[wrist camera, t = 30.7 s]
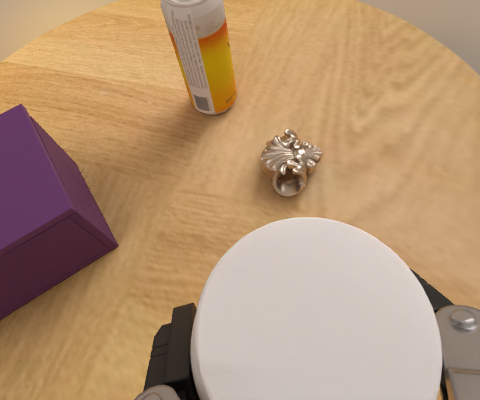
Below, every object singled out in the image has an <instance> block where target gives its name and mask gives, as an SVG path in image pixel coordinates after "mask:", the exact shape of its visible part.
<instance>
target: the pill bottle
mask: <svg viewBox="0 0 480 400" xmlns="http://www.w3.org/2000/svg"><path fill="white" fill-rule="evenodd" d="M190 354H191V366H192V373H193V378H194V383H195V386H196V390H197V393H198V396H199V398H200V400H436V399H437V396H438V391H439V386H440V381H441V372H442V346H441V338H440V332H439V328H438V324H437V320H436V317H435V314H434V311H433V307H432V305H431V303H430V301H429V299H428V297H427V295H426V293H425V291H424V289H423V287H422V286H421V284H420V282H419V281H418V279H417V278H416V277H415V275H414V274H413V273H412V271H411V270H410V269H409V267H408V266H407V265H406V264H405V263H404V262H403V260H402V259H401V258H400V257H399V256H398V255H397V254H396V253H395V252H393V251H392V250H391V249H390V248H389V247H388V246H386V245H385V244H383V243H382V242H381V241H380V240H378V239H377V238H375V237H373V236H372V235H370V234H368V233H367V232H365V231H363V230H360V229H358V228H356V227H353V226H351V225H348V224H345V223H343V222H339V221H335V220H331V219H325V218H315V217H299V218H289V219H285V220H279V221H276V222H272V223H270V224H267V225H264V226H262V227H260V228H258V229H256V230H254V231H252V232H251V233H249V234H247V235H246V236H244V237H242V238H241V239H240V240H239V241H238V242H236V243H235V244H234V245H233V246H232V247H231V248H230V249H229V250H228V251H227V252H226V253H225V254H224V255H223V256H222V257H221V259H220V260H219V262H218V263H217V264H216V266H215V267H214V269H213V270H212V272H211V274H210V275H209V277H208V279H207V281H206V283H205V286H204V288H203V291H202V294H201V296H200V300H199V304H198V308H197V311H196V315H195V318H194V323H193V328H192V335H191V351H190Z"/></svg>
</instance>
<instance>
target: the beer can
mask: <svg viewBox="0 0 480 400" xmlns="http://www.w3.org/2000/svg"><path fill="white" fill-rule="evenodd" d="M161 9H162V12H163V15H164V18H165V21H166V24H167V27H168V31H169V34H170V37H171V40H172V43H173V46H174V49H175V53H176V56H177V59H178V62H179V65H180V68H181V71H182V75H183V78H184V81H185V84H186V87H187V90H188V93H189V97H190V100H191V103H192V105H193V106H194V108H195V109H197V110H198V111H200V112H202V113H205V114H209V115H216V114H220V113H223V112H225V111H226V110H228V109H229V108H230V107H231V105H232V104H233V103H234V102H235V100H236V96H237V92H236V85H235V78H234V71H233V65H232V58H231V51H230V44H229V38H228V31H227V24H226V17H225V10H224V4H223V0H161Z"/></svg>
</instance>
